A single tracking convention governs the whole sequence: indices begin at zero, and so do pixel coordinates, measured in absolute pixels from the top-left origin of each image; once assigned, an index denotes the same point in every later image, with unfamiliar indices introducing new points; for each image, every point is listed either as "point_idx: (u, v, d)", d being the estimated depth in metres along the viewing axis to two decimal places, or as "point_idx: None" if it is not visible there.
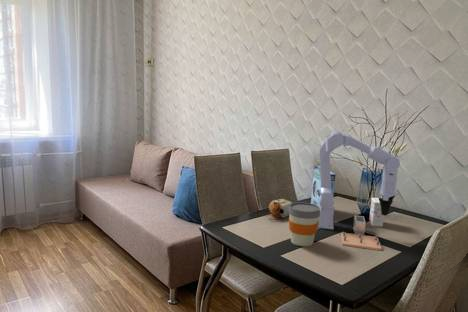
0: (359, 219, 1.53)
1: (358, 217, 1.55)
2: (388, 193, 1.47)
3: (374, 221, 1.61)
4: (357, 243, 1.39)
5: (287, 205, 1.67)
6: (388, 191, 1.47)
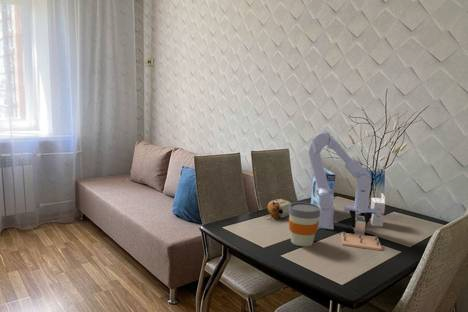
0: (359, 219, 1.53)
1: (358, 217, 1.55)
2: (354, 207, 1.53)
3: (374, 221, 1.61)
4: (357, 243, 1.39)
5: (286, 205, 1.67)
6: (354, 205, 1.53)
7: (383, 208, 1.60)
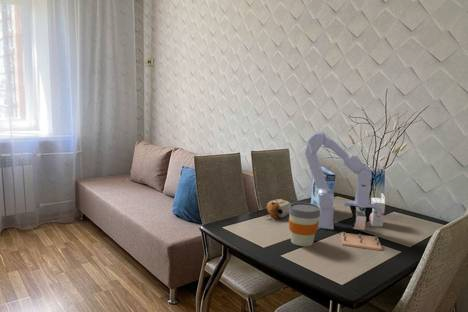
0: (359, 214, 1.52)
1: (358, 212, 1.55)
2: (354, 202, 1.53)
3: (374, 221, 1.61)
4: (357, 243, 1.39)
5: (285, 205, 1.67)
6: (355, 200, 1.53)
7: (383, 208, 1.60)
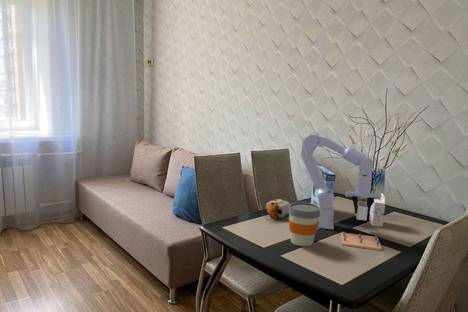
0: (361, 204, 1.51)
1: (360, 202, 1.53)
2: (356, 192, 1.51)
3: (374, 221, 1.61)
4: (357, 243, 1.39)
5: (285, 205, 1.66)
6: (356, 191, 1.51)
7: (383, 208, 1.60)
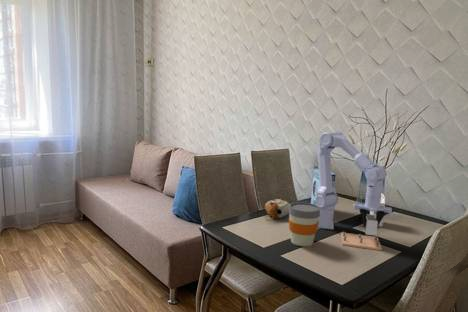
0: (370, 218, 1.39)
1: (369, 216, 1.42)
2: (365, 205, 1.40)
3: None
4: (357, 243, 1.39)
5: (284, 205, 1.66)
6: (365, 203, 1.39)
7: None
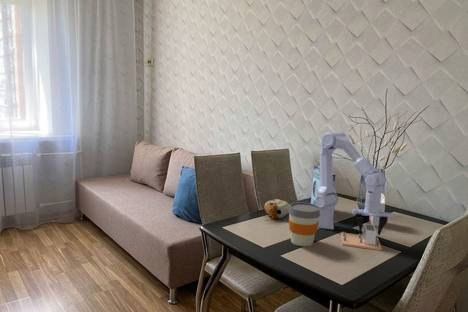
0: (369, 228, 1.40)
1: (368, 225, 1.42)
2: (364, 210, 1.40)
3: (374, 221, 1.61)
4: (357, 243, 1.39)
5: (284, 205, 1.66)
6: (364, 209, 1.40)
7: (383, 208, 1.60)
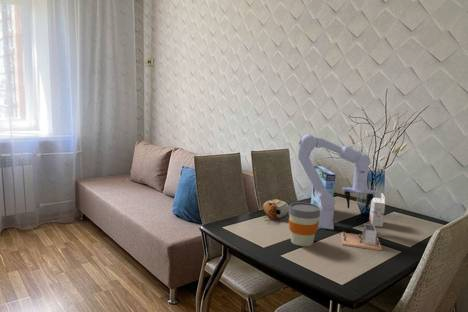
0: (369, 228, 1.40)
1: (368, 225, 1.42)
2: (352, 188, 1.55)
3: (374, 221, 1.61)
4: (357, 243, 1.39)
5: (283, 205, 1.66)
6: None
7: (383, 208, 1.60)
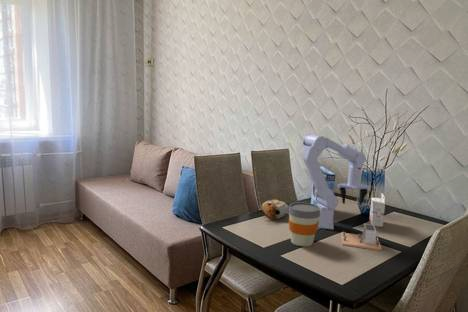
0: (369, 228, 1.40)
1: (368, 225, 1.42)
2: (347, 184, 1.62)
3: (374, 221, 1.61)
4: (357, 243, 1.39)
5: (282, 206, 1.66)
6: (348, 183, 1.62)
7: (383, 208, 1.60)
